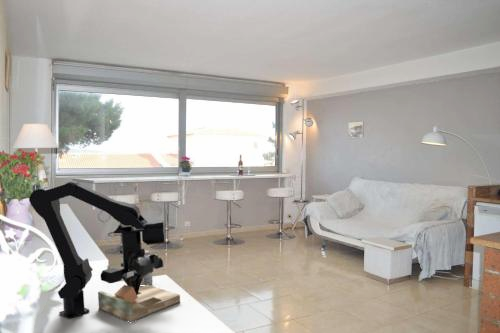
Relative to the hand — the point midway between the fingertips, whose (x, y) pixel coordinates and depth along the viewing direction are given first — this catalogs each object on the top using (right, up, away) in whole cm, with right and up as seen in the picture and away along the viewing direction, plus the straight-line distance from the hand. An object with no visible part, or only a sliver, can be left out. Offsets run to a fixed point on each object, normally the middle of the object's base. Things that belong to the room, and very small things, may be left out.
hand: (135, 296), depth 122 cm
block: (-1, -1, -3) cm, 3 cm away
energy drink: (-3, -3, +22) cm, 22 cm away
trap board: (+1, -3, +2) cm, 4 cm away
